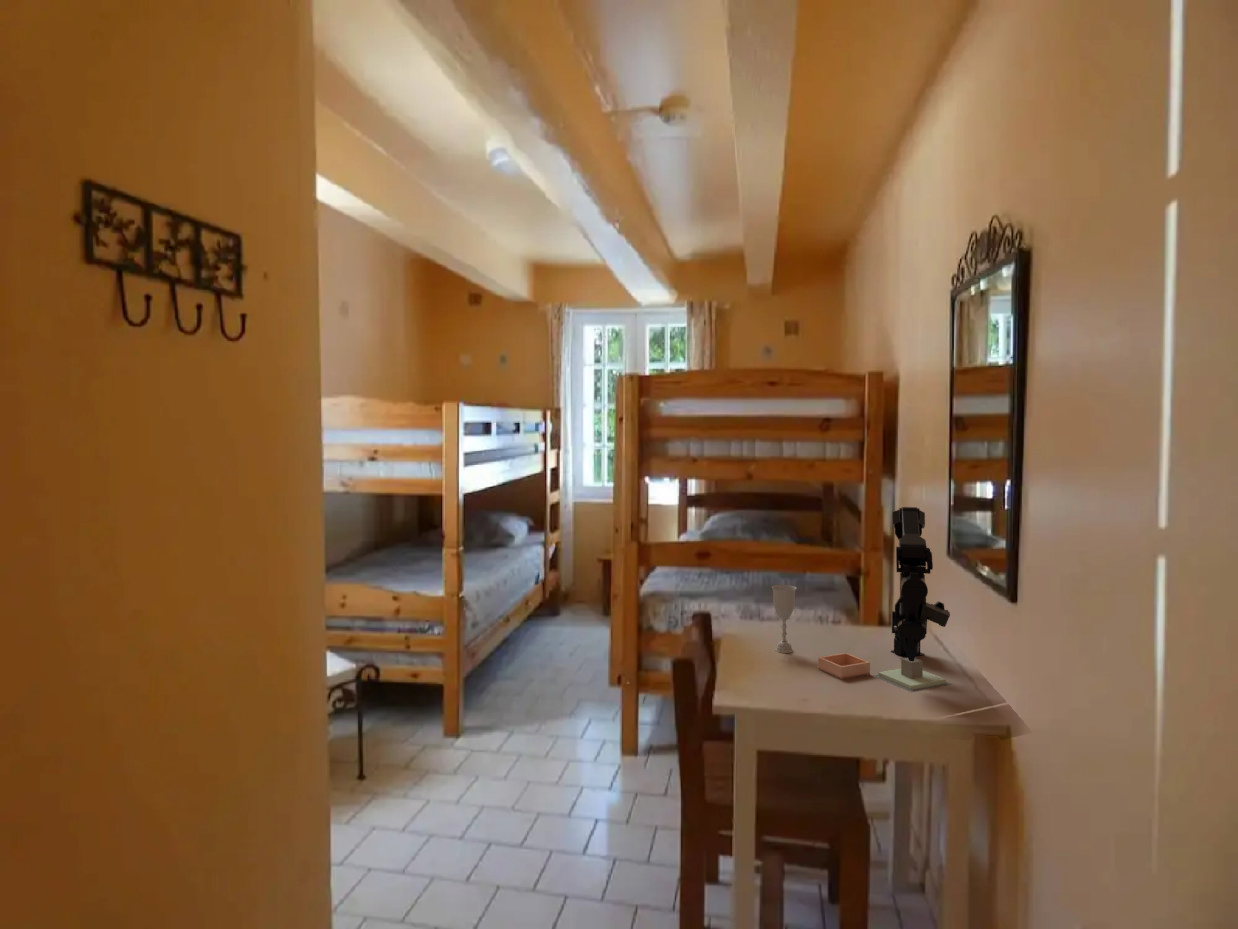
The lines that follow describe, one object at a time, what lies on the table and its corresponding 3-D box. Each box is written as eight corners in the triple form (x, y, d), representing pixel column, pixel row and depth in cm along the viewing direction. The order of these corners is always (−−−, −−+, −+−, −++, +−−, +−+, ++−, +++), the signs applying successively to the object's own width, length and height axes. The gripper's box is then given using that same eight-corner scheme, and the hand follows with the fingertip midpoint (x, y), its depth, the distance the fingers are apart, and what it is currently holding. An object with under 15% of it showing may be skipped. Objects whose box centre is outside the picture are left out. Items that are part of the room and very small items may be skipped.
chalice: (766, 648, 217) (766, 586, 216) (786, 645, 220) (786, 583, 219) (781, 655, 210) (781, 591, 209) (802, 652, 213) (802, 588, 212)
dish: (846, 665, 200) (846, 652, 200) (869, 676, 192) (870, 662, 192) (818, 670, 197) (818, 657, 197) (841, 681, 189) (841, 667, 188)
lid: (912, 670, 195) (912, 651, 195) (946, 683, 185) (946, 663, 185) (878, 676, 191) (878, 656, 190) (911, 690, 181) (911, 669, 180)
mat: (912, 670, 196) (912, 668, 196) (952, 685, 184) (952, 684, 184) (872, 677, 191) (872, 675, 191) (911, 693, 179) (911, 692, 179)
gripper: (949, 604, 175) (948, 670, 176) (946, 587, 192) (946, 648, 193) (897, 600, 179) (897, 665, 180) (900, 584, 196) (899, 644, 197)
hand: (911, 655), depth 188 cm, fingers open, 9 cm apart
